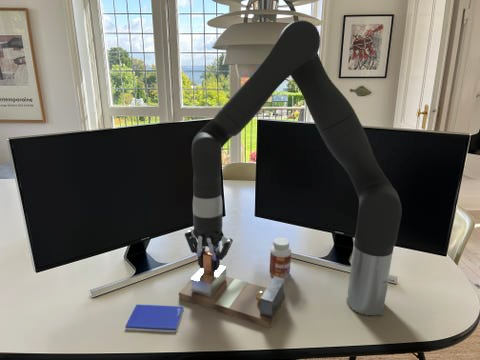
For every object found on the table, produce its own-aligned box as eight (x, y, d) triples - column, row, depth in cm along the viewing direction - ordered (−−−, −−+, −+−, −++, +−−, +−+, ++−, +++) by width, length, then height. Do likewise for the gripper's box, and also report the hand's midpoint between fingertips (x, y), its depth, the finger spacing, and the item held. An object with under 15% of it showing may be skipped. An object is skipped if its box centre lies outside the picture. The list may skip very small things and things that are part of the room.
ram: (226, 279, 97) (226, 248, 94) (211, 297, 89) (210, 264, 86) (207, 273, 99) (207, 243, 96) (191, 291, 91) (190, 258, 88)
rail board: (284, 299, 92) (285, 292, 92) (269, 328, 82) (270, 321, 81) (201, 275, 102) (201, 269, 102) (179, 298, 92) (178, 292, 91)
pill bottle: (273, 281, 100) (275, 247, 97) (266, 269, 106) (267, 237, 102) (293, 277, 102) (295, 244, 98) (284, 266, 108) (286, 235, 104)
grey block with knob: (283, 295, 91) (284, 279, 89) (271, 318, 82) (272, 301, 81) (262, 289, 93) (263, 273, 92) (248, 311, 85) (249, 294, 83)
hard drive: (183, 305, 88) (136, 303, 89) (176, 328, 80) (124, 326, 81) (184, 310, 88) (137, 308, 89) (176, 334, 81) (125, 331, 81)
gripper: (238, 209, 88) (238, 267, 93) (192, 201, 93) (194, 256, 99) (225, 221, 81) (225, 282, 87) (176, 210, 87) (179, 269, 92)
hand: (208, 268), depth 93 cm, fingers closed on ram, 3 cm apart
